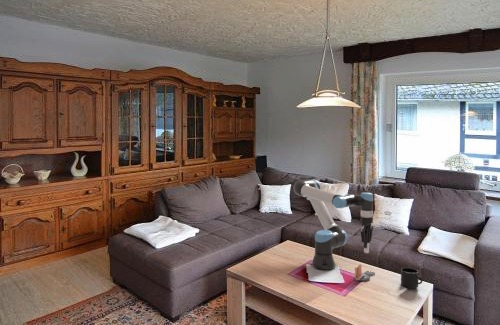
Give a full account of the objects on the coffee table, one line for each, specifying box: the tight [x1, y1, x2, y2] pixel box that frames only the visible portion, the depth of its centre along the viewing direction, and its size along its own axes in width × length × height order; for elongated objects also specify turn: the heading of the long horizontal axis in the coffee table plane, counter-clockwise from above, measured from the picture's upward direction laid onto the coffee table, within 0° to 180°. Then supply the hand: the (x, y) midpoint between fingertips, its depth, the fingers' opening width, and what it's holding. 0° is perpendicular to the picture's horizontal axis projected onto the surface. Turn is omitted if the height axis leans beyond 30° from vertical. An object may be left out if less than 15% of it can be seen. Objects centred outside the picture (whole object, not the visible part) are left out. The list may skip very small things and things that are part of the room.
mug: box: [400, 267, 423, 289], centre depth 206 cm, size 9×12×9 cm
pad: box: [363, 270, 376, 277], centre depth 227 cm, size 11×11×1 cm
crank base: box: [354, 267, 371, 282], centre depth 217 cm, size 9×11×8 cm
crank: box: [356, 264, 366, 280], centre depth 215 cm, size 10×4×8 cm, turn 144°
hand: (366, 252), depth 227 cm, fingers closed
